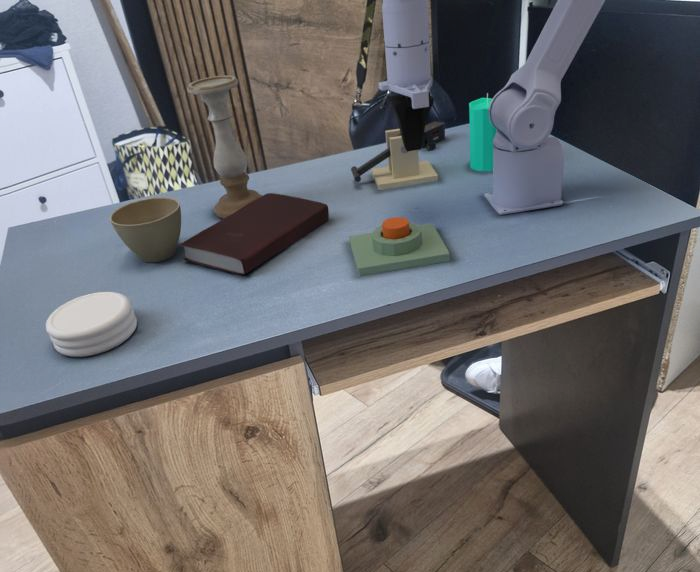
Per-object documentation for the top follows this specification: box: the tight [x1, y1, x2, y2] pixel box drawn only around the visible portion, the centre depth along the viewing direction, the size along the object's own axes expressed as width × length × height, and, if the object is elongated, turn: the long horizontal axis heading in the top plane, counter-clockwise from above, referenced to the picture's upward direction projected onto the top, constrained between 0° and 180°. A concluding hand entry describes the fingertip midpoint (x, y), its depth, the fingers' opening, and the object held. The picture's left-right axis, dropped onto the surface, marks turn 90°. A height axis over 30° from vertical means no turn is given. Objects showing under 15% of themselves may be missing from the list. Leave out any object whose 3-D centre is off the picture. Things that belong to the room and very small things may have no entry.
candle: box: [468, 92, 496, 172], centre depth 106 cm, size 6×6×12 cm
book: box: [180, 192, 330, 276], centre depth 95 cm, size 12×19×3 cm, turn 145°
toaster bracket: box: [371, 128, 439, 191], centre depth 107 cm, size 10×8×8 cm
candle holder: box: [186, 74, 263, 219], centre depth 101 cm, size 9×9×20 cm
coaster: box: [45, 291, 138, 358], centre depth 78 cm, size 10×10×4 cm
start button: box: [381, 216, 410, 239], centre depth 85 cm, size 4×4×2 cm
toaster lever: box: [350, 134, 401, 183], centre depth 107 cm, size 11×5×2 cm, turn 97°
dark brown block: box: [421, 121, 446, 151], centre depth 121 cm, size 5×7×3 cm, turn 134°
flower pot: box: [109, 196, 182, 263], centre depth 94 cm, size 10×10×7 cm
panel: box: [348, 222, 451, 277], centre depth 86 cm, size 12×10×3 cm
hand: (413, 149), depth 89 cm, fingers closed
